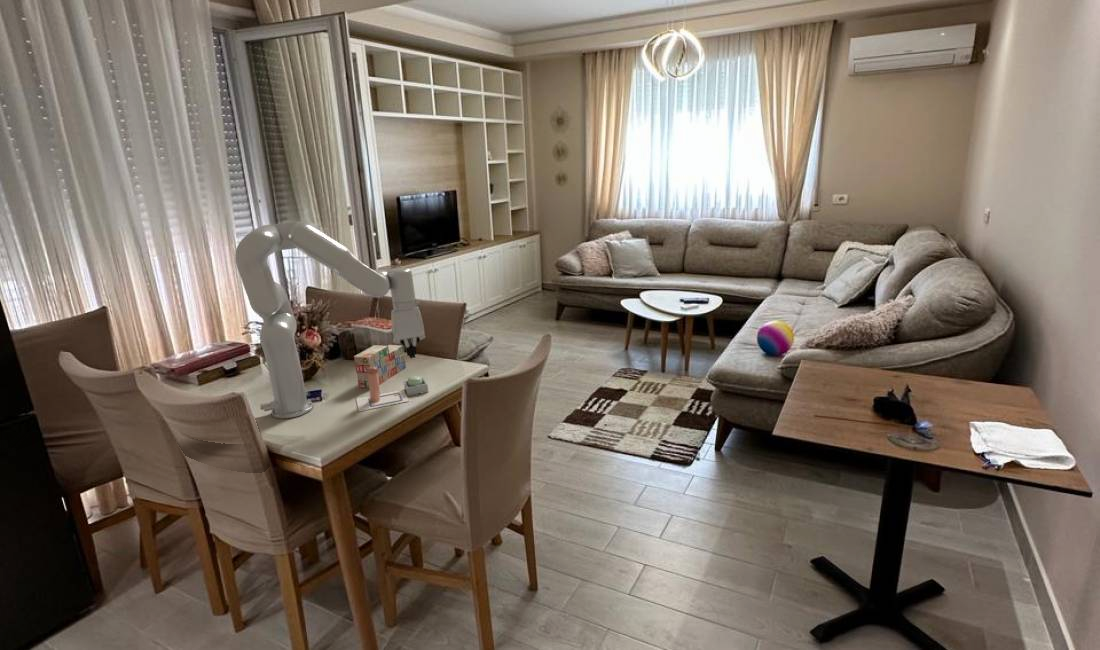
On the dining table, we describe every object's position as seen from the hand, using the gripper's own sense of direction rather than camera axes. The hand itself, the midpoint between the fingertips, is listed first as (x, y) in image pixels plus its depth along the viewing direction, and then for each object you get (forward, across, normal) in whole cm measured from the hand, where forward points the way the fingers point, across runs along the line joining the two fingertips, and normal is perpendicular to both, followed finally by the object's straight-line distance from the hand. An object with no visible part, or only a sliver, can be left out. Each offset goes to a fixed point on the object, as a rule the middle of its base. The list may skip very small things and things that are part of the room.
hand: (412, 356), depth 197 cm
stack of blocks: (+13, +9, -20) cm, 25 cm away
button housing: (+12, 0, 0) cm, 13 cm away
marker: (+12, +14, +2) cm, 19 cm away
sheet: (+12, +12, +3) cm, 18 cm away
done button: (+11, 0, 0) cm, 11 cm away
